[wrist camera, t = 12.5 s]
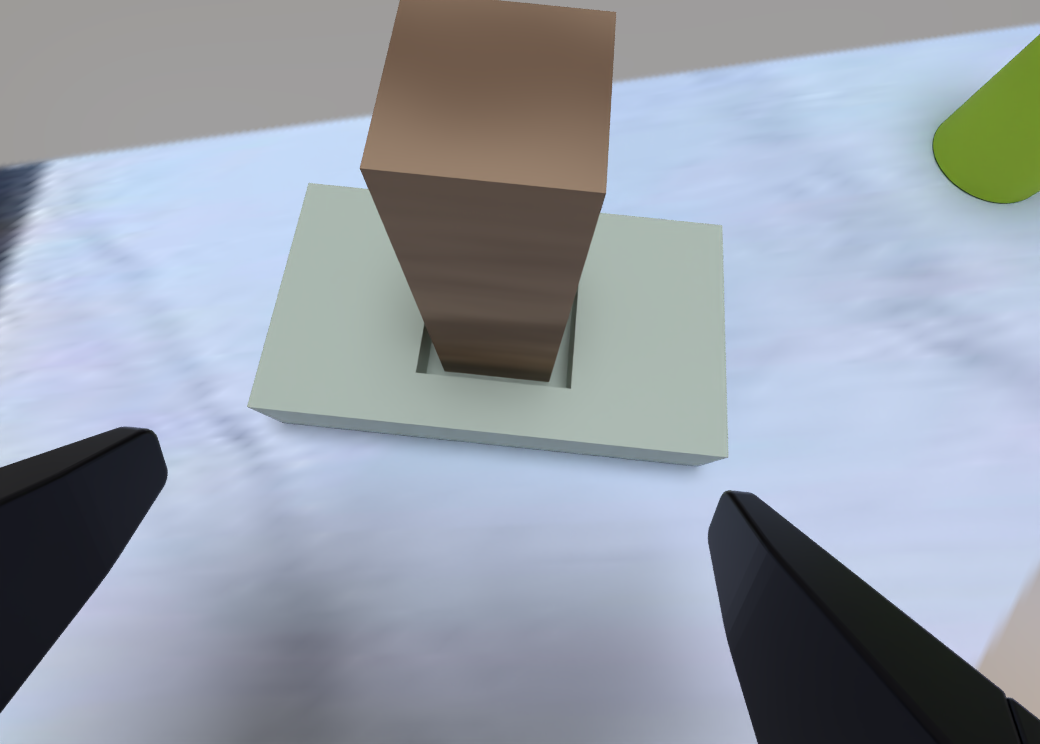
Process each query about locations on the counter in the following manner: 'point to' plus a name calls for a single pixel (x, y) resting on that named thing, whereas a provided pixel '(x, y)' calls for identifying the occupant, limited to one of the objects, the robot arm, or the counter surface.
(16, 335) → the counter surface
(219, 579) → the counter surface
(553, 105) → the walnut post
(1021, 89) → the soap dispenser
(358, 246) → the sage rectangular frame
